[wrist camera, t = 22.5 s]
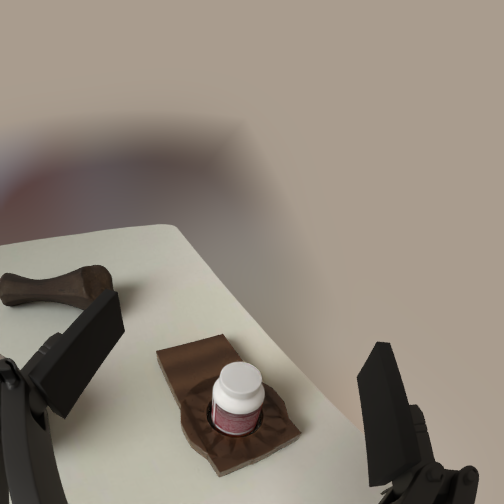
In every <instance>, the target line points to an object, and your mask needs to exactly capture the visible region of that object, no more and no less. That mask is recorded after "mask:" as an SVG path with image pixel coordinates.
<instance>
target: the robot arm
mask: <svg viewBox="0 0 504 504" xmlns="http://www.w3.org/2000/svg"><path fill="white" fill-rule="evenodd" d="M124 332H125V329H124V325H123V320H122V314H121V309H120V303H119V297H118V292H116V291H112V290H109V289H105V290H104V291H103V292H102V293H101V294H100V295H99V296H98V297H97V298H96V299H95V300H94V301H93V302H92V303H91V304H90V305H89V306H88V307H87V309H86V310H85V311H84V312H83V313H82V314H81V315H80V316H79V317H78V318H77V319H76V320H75V321H74V322H73V323H72V324H71V326H70V327H69V328H68V329H67V330H66V331H65V332H64V333H63V334H61V333H59V332H58V333H56V334H54V335H53V336H51V337H49V338H48V340H47V341H46V342H45V343H44V344H43V346H41V347H40V348H39V350H38V351H37V352H36V353H35V354H34V355H33V356H32V358H31V359H30V360H29V361H28V362H27V363H26V365H25V366H24V367H23V368H22V369H21V370H19V369H18V367H17V365H16V364H15V362H14V361H13V360H12V359H10V358H4V359H1V360H0V504H9V492H10V496H11V500H12V504H68V503H67V500H66V497H65V494H64V490H63V487H62V484H61V480H60V476H59V473H58V469H57V465H56V460H55V456H54V451H53V446H52V441H51V435H50V429H49V422H48V414H47V411H46V408H47V406H49V407H50V408H51V410H52V411H53V412H54V413H56V414H57V415H59V416H60V417H62V418H64V419H66V417H67V415H68V414H69V412H70V411H71V409H72V408H73V406H74V404H75V403H76V401H77V400H78V398H79V397H80V395H81V394H82V392H83V391H84V389H85V388H86V386H87V385H88V383H89V382H90V380H91V379H92V377H93V376H94V374H95V373H96V371H97V370H98V369H99V367H100V366H101V364H102V363H103V361H104V360H105V358H106V357H107V356H108V354H109V353H110V351H111V350H112V349H113V347H114V346H115V344H116V343H117V342H118V340H119V339H120V337H121V336H122V335H123V333H124ZM357 382H358V388H359V395H360V401H361V408H362V416H363V423H364V432H365V440H366V450H367V461H368V474H369V487H374V486H382V485H386V484H388V483H389V482H391V481H392V484H393V486H391V487H390V488H388V489H386V490H384V491H383V492H382V493H381V495H383V494H385V493H386V494H385V496H384V497H383V498H382V500H381V501H380V502H379V504H474V503H475V498H476V493H477V487H478V482H479V474H478V471H477V469H476V468H475V467H473V466H466V467H464V468H462V469H461V470H459V471H458V470H448V469H444V467H443V466H442V465H441V464H440V463H438V462H436V461H435V459H434V456H433V451H432V447H431V442H430V438H429V434H428V432H427V426H426V424H425V419H424V415H423V412H422V411H421V410H420V408H419V407H418V406H417V405H409V403H408V399H407V396H406V393H405V389H404V385H403V382H402V379H401V375H400V372H399V369H398V366H397V363H396V360H395V357H394V354H393V351H392V348H391V345H390V343H385V342H376V344H375V346H374V348H373V350H372V352H371V353H370V355H369V357H368V359H367V360H366V362H365V364H364V366H363V367H362V369H361V371H360V373H359V374H358V376H357Z"/></svg>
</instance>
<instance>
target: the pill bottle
mask: <svg viewBox="0 0 504 504" xmlns="http://www.w3.org/2000/svg"><path fill="white" fill-rule="evenodd" d="M264 396H265V391H264V387H263V385H262V375H261V373H260V371H259V370H258V369H257V368H256V367H255V366H253V365H252V364H249V363H246V362H233V363H230V364H228V365H226V366H225V367H224V368H223V369H222V371H221V373H220V377H219V378H218V379H217V381H216V382H215V384H214V386H213V393H212V424H213V427H214V428H215V430H216V431H217V432H218V433H220V434H221V435H224V436H227V437H231V438H241V437H246V436H248V435H249V434H250V433H251V432H252V431H253V430H254V428H255V426H256V423H257V420H258V417H259V414H260V410H261V407H262V404H263V401H264Z"/></svg>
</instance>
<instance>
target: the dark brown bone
mask: <svg viewBox="0 0 504 504" xmlns="http://www.w3.org/2000/svg"><path fill="white" fill-rule="evenodd" d="M105 289H109V290H112V291H114V290H113V284H112V276H111V274H110V273H109V271H108V270H107V269H106V268H105V267H103V266H101V265H93V266H85V267H82V268H79V269H77V270H75V271H72V272H70V273H67V274H64V275H61V276H58V277H55V278H50V279H43V280H34V279H29V278H25V277H21V276H18V275H15V274H12V273H5V274H4V275H2V277H1V278H0V299H1V300H2V303H3V304H4V305H6V306H14V305H17V304H20V303H24V302H30V301H51V302H58V303H64V304H68V305H71V306H75V307H78V308H80V309H83V310H86V309H87V307H88V306H89V305H90V304H91V303H92V302H93V301H94V300H95V299H96V298H97V297H98V296H99V295H100V294H101V293H102V292H103V291H104V290H105Z"/></svg>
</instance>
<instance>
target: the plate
mask: <svg viewBox="0 0 504 504" xmlns="http://www.w3.org/2000/svg"><path fill="white" fill-rule="evenodd" d="M156 354H157V360H158V363H159V365H160V368H161V370H162V372H163V374H164V377H165V379H166V381H167V383H168V386H169V388H170V390H171V392H172V394H173V396H174V398H175V400H176V402H177V404H178V406H179V408H180V410H181V427H182V431H183V433H184V435H185V437H186V439H187V441H188V442H189V444H190V446H191V447H192V448H193V449H194V450H195V451H197V452H198V453H199V454H200V455H202V456H203V457H204V458H206V459H207V460H208V461H209V462H210V464H211V466H212V467H213V469H214V470H215V472H216V474H217V475H218V477H222V476H224V475H227V474H229V473H231V472H234V471H236V470H238V469H241V468H243V467H245V466H248V465H251V464H254V463H256V462H258V461H260V460H262V459H264V458H266V457H268V456H270V455H271V454H272V453H274V452H276V451H278V450H280V449H282V448H284V447H286V446H287V445H289V444H291V443H293V442H294V441H296V440H297V439H298V437H299V436H300V434H301V432H300V431H299V430H298V429H297V427H296V426H295V425H294V424H293V423H292V421H291V420H290V419H289V417H288V413H287V410H286V407H285V403H284V401H283V400H282V399H281V398H280V396H279V395H278V394H277V393H276V392H275V390H274V389H273V388H271V387H270V386H268V385H266V384H265V383H263V382H262V385H263V387H264V391H265V396H264V401H263V404H262V407H261V410H260V414H259V418H260V422H261V426H260V427H259V428H258V430H257V431H256V432H255V433H253V434H251V435H248V436H246V437H241V438H231V437H227V436H224V435H221V434H220V433H218V432H217V431H216V430H214V429H213V428H212V427H211V426H210V424H209V422H208V421H207V415H208V412H209V410H210V409H211V408H212V393H213V386H214V384H215V382H216V381H217V379H218V378H219V377H220V373H221V371H222V369H223V368H224V367H225V366H226V365H228V364H230V363H233V362H243V360H242V359H241V358H240V356H239V355H238V354H237V352H236V351H235V350H234V348H233V347H232V346H231V344H230V343H229V342H228V340H227V339H226V337H225V336H224V335H223V334H221V335H217V336H213V337H210V338H206V339H202V340H199V341H195V342H191V343H187V344H183V345H179V346H175V347H171V348H167V349H162V350H158V351H156Z"/></svg>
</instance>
